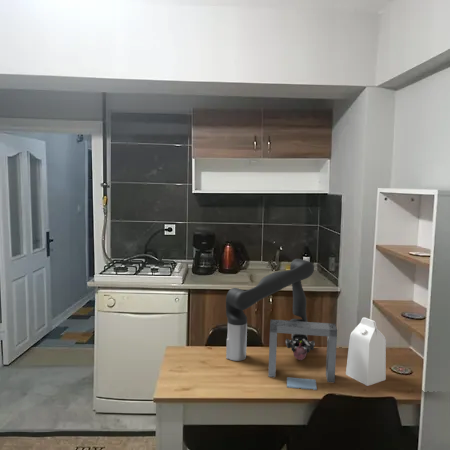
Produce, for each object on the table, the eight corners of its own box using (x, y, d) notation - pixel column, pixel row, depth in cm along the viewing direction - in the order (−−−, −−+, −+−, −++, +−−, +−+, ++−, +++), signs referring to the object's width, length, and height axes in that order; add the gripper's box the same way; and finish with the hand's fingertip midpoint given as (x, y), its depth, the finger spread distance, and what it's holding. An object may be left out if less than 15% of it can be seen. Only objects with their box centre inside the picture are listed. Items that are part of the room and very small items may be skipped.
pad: (286, 387, 174) (287, 385, 174) (286, 378, 182) (286, 377, 182) (316, 390, 172) (316, 388, 172) (315, 381, 180) (315, 379, 180)
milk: (385, 379, 183) (389, 321, 180) (367, 385, 177) (370, 325, 174) (363, 369, 193) (366, 313, 190) (345, 374, 187) (348, 317, 184)
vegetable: (296, 364, 193) (296, 343, 191) (291, 358, 199) (291, 338, 197) (308, 362, 194) (309, 342, 193) (303, 357, 200) (303, 337, 199)
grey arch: (268, 376, 183) (270, 325, 180) (269, 368, 191) (270, 319, 188) (334, 382, 179) (337, 330, 176) (332, 374, 187) (335, 323, 184)
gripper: (285, 328, 210) (285, 341, 194) (314, 330, 208) (317, 343, 192) (284, 343, 211) (284, 357, 194) (314, 345, 209) (316, 359, 192)
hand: (300, 350), depth 193 cm, fingers closed on vegetable, 5 cm apart
